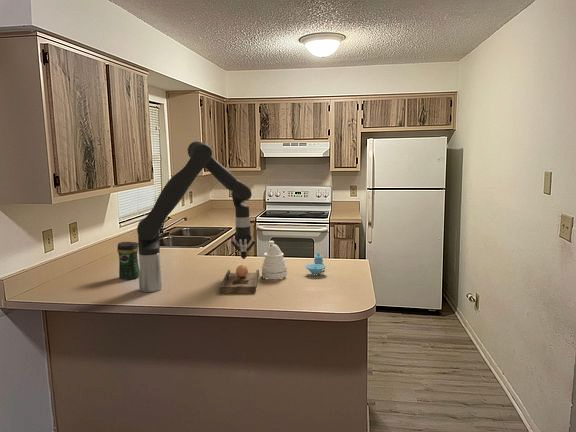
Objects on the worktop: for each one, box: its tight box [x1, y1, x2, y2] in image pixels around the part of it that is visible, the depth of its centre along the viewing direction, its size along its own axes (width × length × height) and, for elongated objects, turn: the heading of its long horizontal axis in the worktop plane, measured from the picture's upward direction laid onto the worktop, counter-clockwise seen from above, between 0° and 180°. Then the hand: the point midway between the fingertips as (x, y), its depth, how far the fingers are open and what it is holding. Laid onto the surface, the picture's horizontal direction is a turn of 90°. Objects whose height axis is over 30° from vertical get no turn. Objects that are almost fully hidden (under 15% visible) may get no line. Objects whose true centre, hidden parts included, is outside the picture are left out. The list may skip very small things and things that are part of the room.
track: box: [219, 269, 260, 294], centre depth 211 cm, size 16×28×3 cm, turn 1°
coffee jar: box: [117, 241, 140, 280], centre depth 222 cm, size 10×8×19 cm
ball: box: [235, 264, 249, 277], centre depth 217 cm, size 6×6×6 cm
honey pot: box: [261, 240, 288, 279], centre depth 222 cm, size 13×13×18 cm
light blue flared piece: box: [305, 252, 327, 275], centre depth 229 cm, size 18×10×9 cm, turn 167°
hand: (244, 258), depth 226 cm, fingers closed
